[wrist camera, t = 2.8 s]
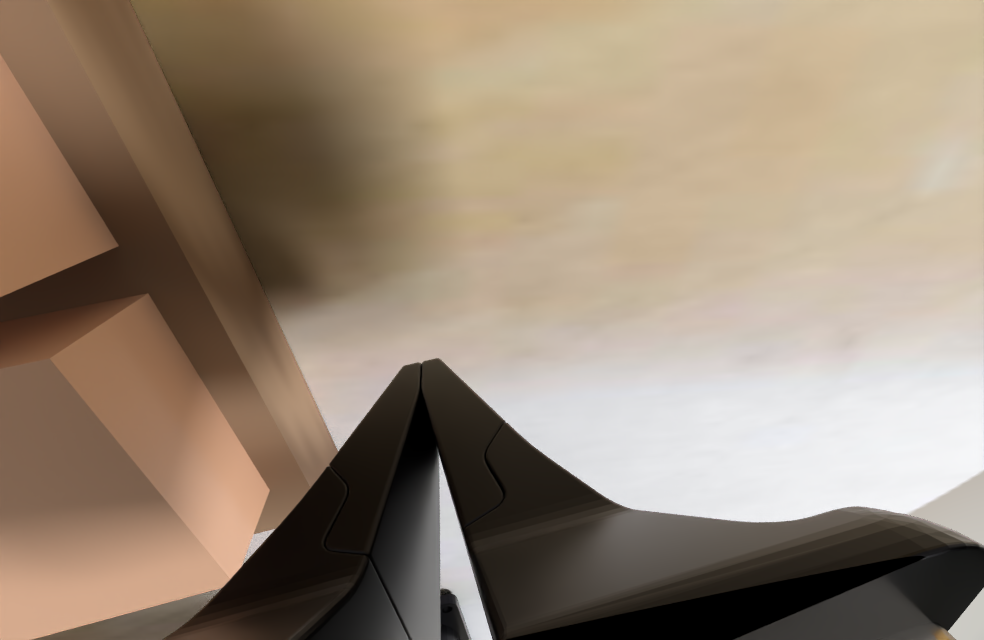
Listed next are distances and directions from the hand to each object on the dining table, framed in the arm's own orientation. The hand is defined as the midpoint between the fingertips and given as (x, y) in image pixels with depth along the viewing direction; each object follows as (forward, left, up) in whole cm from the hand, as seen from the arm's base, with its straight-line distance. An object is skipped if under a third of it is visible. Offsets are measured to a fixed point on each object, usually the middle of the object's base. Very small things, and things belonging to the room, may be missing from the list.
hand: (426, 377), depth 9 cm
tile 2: (0, +8, -1) cm, 8 cm away
